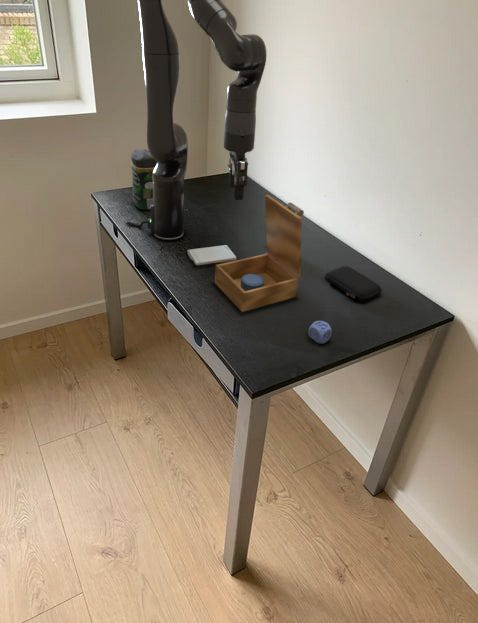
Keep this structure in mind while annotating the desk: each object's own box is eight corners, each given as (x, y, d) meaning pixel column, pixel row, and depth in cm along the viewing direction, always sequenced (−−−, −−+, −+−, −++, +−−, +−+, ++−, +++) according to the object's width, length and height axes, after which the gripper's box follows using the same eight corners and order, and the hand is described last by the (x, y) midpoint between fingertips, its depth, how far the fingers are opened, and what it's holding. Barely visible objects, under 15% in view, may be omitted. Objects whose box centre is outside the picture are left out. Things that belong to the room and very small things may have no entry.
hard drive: (226, 244, 147) (187, 248, 142) (236, 257, 141) (196, 262, 136) (226, 249, 147) (187, 253, 143) (236, 262, 142) (196, 267, 137)
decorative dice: (317, 331, 118) (320, 318, 115) (330, 340, 115) (333, 326, 113) (306, 337, 115) (309, 324, 113) (319, 346, 113) (322, 332, 111)
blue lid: (237, 293, 127) (239, 282, 125) (243, 282, 131) (244, 271, 129) (260, 298, 126) (261, 287, 124) (264, 286, 130) (266, 275, 128)
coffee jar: (130, 201, 170) (127, 148, 159) (151, 198, 173) (150, 146, 162) (139, 212, 163) (137, 158, 152) (161, 209, 166) (160, 156, 155)
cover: (298, 218, 113) (316, 212, 115) (265, 195, 123) (281, 189, 124) (297, 278, 124) (313, 271, 126) (267, 252, 134) (281, 246, 136)
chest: (241, 314, 121) (244, 293, 117) (214, 285, 131) (215, 264, 127) (295, 299, 128) (298, 279, 125) (265, 272, 138) (268, 253, 134)
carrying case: (318, 280, 137) (357, 306, 128) (320, 271, 135) (360, 297, 126) (344, 271, 142) (383, 295, 133) (346, 262, 141) (386, 286, 132)
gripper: (220, 120, 122) (218, 182, 131) (228, 137, 111) (225, 204, 120) (249, 121, 123) (245, 183, 133) (260, 138, 112) (255, 203, 121)
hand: (235, 192), depth 126 cm, fingers open, 8 cm apart
